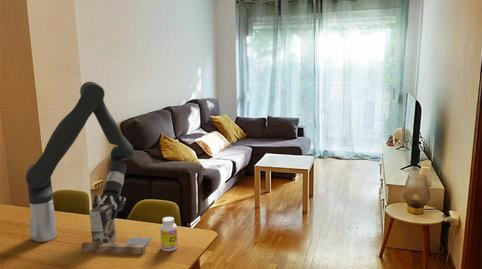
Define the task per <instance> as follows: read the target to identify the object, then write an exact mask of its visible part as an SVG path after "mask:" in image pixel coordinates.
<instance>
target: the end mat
mask: <svg viewBox="0 0 482 269" xmlns="http://www.w3.org/2000/svg"><path fill="white" fill-rule="evenodd" d="M151 240H152V238H151V237H129V239H128V240H127V241H126V242H125V244H139V245H145V248H146V247H147V245H148V244H149V242H150V241H151Z"/></svg>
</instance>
